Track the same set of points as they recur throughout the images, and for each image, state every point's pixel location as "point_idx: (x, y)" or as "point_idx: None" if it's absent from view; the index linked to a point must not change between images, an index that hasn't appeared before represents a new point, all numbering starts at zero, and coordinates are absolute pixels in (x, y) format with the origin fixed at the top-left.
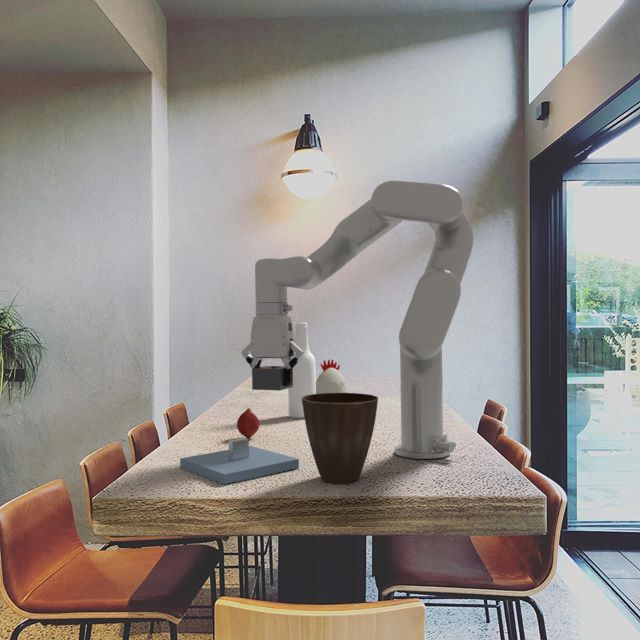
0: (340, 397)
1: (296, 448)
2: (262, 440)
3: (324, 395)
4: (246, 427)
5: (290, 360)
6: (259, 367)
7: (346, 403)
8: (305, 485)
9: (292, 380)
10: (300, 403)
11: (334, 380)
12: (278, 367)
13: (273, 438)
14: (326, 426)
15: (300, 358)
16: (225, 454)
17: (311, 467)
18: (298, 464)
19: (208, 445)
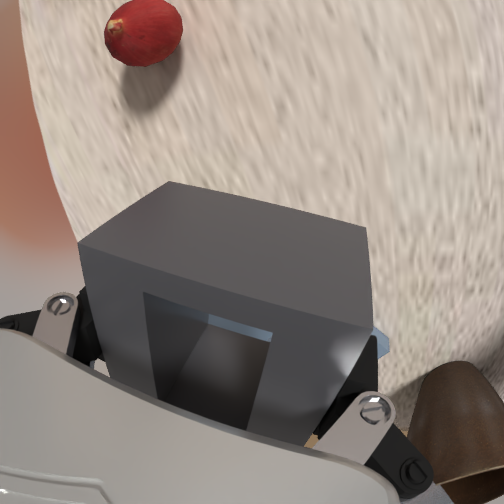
0: (489, 461)
1: (361, 146)
2: (218, 47)
3: (452, 476)
4: (152, 63)
5: (354, 459)
6: (118, 365)
7: None
8: (396, 404)
9: (374, 341)
10: None
11: None
12: (255, 402)
13: (242, 12)
14: None
15: (438, 490)
16: (225, 319)
17: (413, 329)
18: (388, 344)
19: (113, 145)
